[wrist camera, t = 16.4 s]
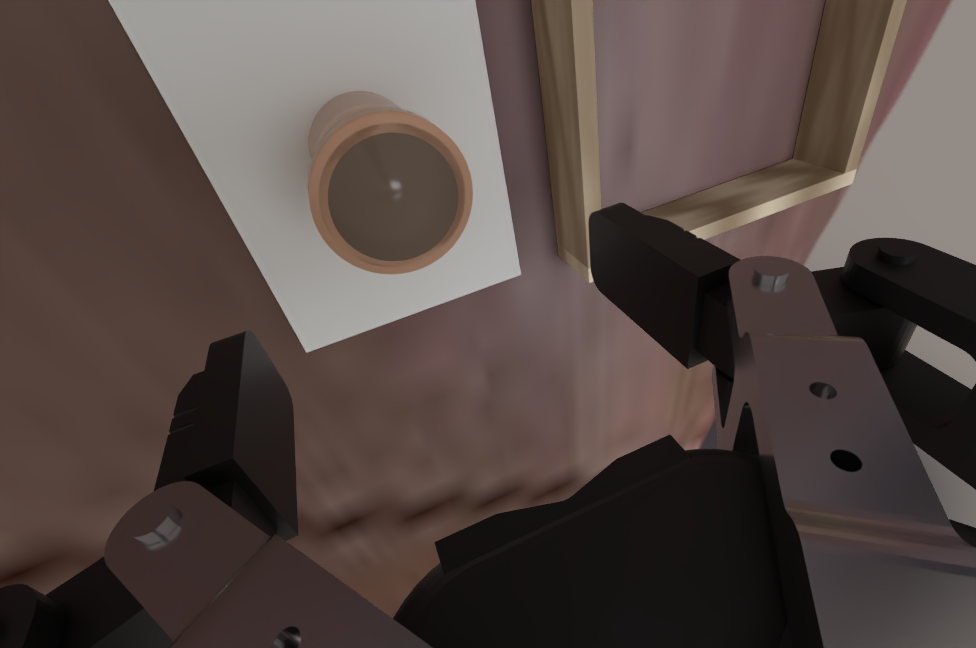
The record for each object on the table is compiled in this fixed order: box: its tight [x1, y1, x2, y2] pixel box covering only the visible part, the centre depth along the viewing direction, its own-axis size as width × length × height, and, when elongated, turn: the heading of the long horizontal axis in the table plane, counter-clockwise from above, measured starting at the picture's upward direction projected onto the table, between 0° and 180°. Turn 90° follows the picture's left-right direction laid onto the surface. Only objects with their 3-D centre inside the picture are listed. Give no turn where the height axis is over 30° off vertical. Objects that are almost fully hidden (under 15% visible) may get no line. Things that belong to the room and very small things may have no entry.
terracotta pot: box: [307, 91, 473, 274], centre depth 20 cm, size 6×6×8 cm
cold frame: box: [531, 0, 907, 283], centre depth 24 cm, size 20×20×7 cm
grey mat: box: [108, 0, 521, 353], centre depth 23 cm, size 14×20×1 cm
